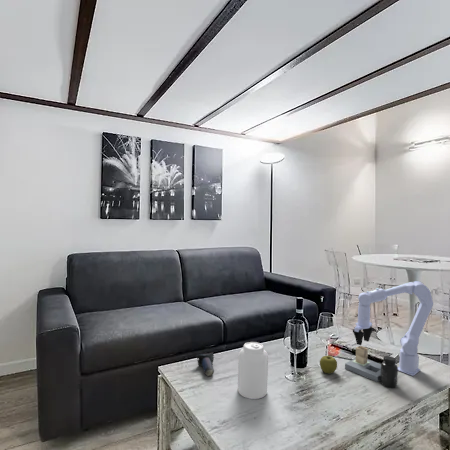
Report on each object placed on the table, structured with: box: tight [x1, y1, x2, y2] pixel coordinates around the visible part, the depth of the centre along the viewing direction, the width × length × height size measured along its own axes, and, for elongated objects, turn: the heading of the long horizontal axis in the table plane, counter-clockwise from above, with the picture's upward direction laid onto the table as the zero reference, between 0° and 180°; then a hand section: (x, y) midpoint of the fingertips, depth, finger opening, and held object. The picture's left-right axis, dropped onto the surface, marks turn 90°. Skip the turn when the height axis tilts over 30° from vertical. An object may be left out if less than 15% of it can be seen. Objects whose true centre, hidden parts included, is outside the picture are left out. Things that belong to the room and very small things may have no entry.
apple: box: [319, 355, 338, 375], centre depth 154 cm, size 8×8×7 cm
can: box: [237, 341, 269, 400], centre depth 135 cm, size 12×12×20 cm
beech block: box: [355, 345, 369, 364], centre depth 160 cm, size 4×4×7 cm
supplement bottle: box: [379, 355, 399, 389], centre depth 144 cm, size 7×7×12 cm
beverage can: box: [195, 351, 215, 377], centre depth 153 cm, size 9×8×12 cm
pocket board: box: [344, 357, 381, 383], centre depth 157 cm, size 14×16×3 cm
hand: (362, 342), depth 165 cm, fingers open, 7 cm apart
